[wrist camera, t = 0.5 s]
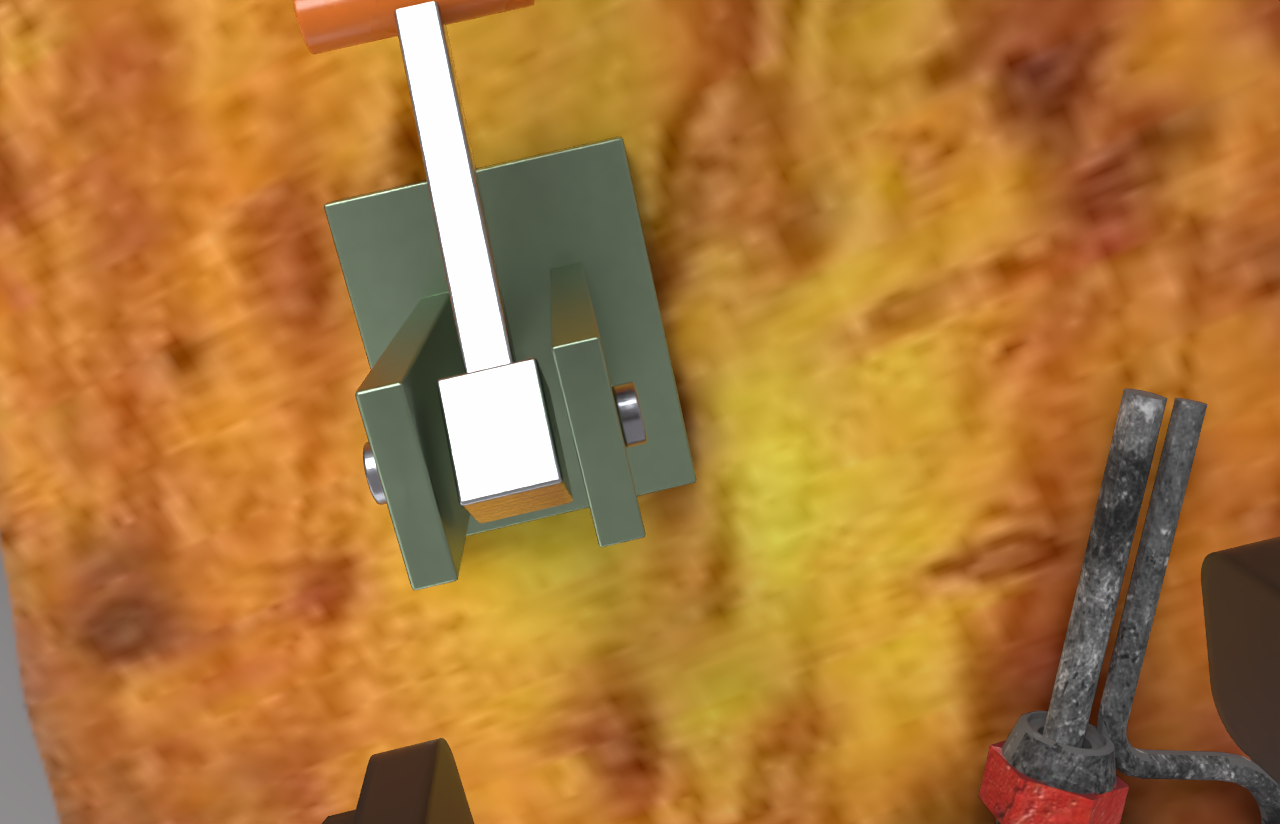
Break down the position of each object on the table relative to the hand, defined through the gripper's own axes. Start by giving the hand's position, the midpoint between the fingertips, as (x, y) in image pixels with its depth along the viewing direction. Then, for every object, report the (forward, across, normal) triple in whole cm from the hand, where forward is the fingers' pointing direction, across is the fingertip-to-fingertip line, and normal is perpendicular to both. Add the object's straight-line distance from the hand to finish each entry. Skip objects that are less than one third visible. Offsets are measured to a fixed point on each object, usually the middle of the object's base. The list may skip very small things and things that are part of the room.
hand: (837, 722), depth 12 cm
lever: (+17, +4, -4) cm, 18 cm away
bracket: (+25, +4, 0) cm, 26 cm away
